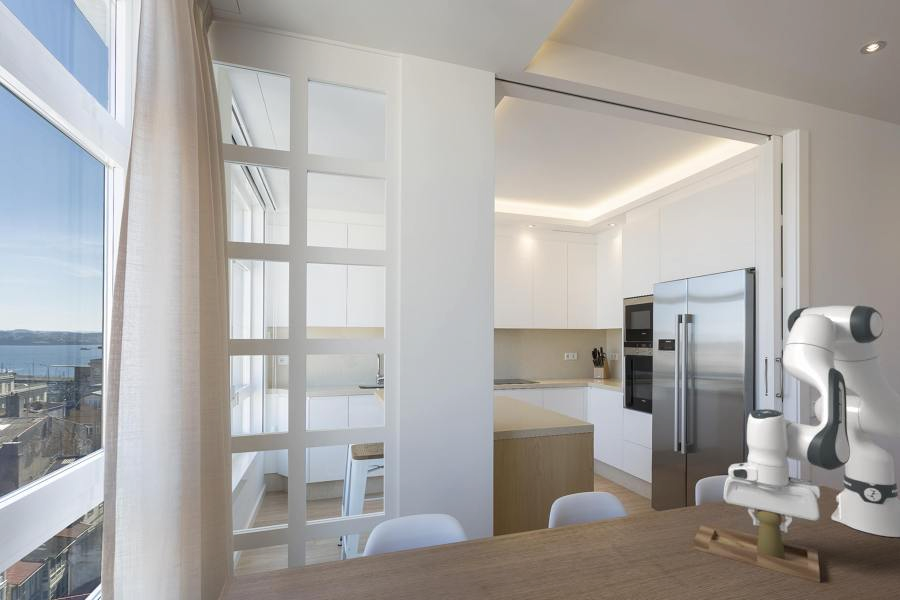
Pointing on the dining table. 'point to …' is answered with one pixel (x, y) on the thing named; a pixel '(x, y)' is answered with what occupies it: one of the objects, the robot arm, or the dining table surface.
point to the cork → (770, 534)
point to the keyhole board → (745, 550)
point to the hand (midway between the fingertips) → (770, 528)
